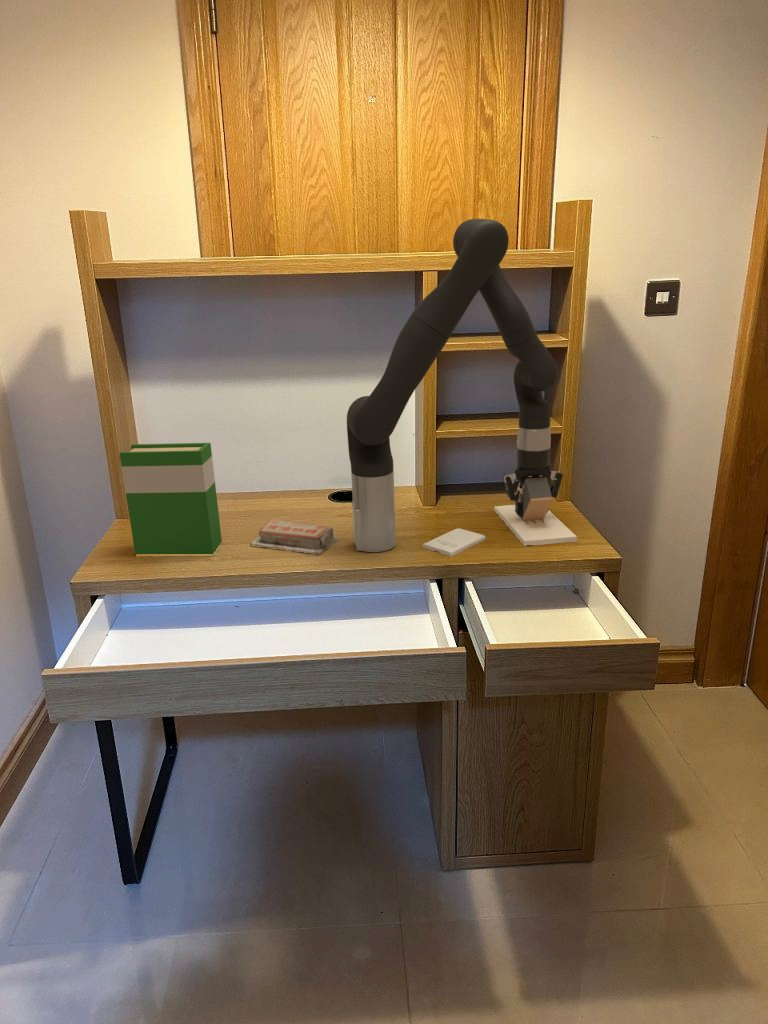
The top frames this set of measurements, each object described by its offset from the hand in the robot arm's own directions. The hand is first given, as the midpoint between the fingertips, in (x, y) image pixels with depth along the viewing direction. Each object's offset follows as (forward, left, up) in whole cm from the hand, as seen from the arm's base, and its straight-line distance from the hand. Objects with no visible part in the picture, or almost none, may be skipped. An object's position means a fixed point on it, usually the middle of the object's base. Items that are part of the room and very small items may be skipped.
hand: (531, 514), depth 178 cm
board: (0, -1, -2) cm, 3 cm away
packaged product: (-56, 0, -3) cm, 56 cm away
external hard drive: (-21, -8, -3) cm, 23 cm away
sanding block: (0, -4, +3) cm, 5 cm away
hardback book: (-82, +2, -2) cm, 82 cm away
